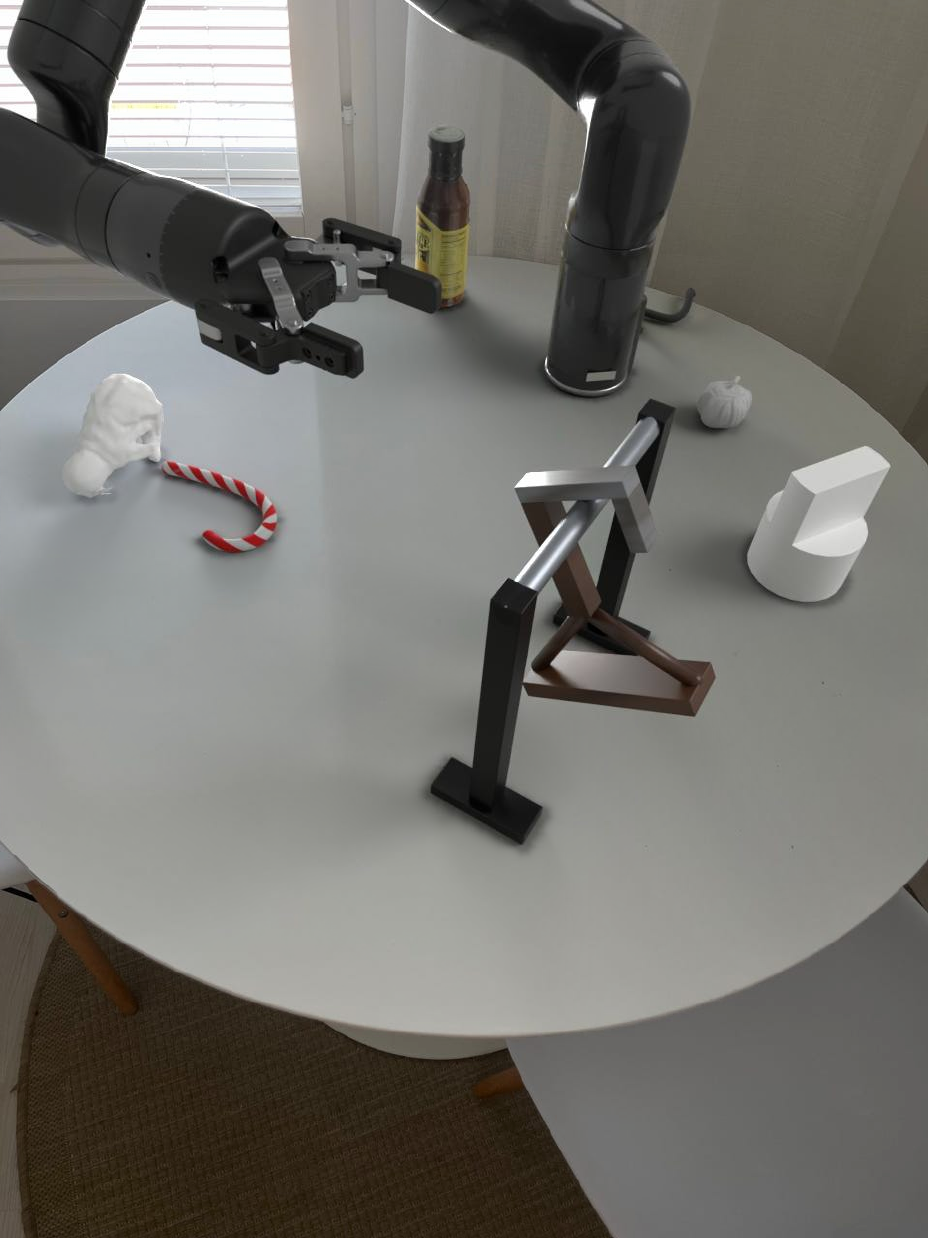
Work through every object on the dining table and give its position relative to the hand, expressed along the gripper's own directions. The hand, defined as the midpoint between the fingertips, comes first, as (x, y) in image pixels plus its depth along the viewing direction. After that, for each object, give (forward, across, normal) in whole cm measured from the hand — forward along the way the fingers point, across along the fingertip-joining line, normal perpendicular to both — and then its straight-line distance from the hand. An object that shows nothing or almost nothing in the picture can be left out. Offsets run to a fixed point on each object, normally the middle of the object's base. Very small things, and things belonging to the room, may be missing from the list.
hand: (401, 328), depth 55 cm
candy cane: (-24, +3, +30) cm, 39 cm away
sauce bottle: (-26, +48, +30) cm, 62 cm away
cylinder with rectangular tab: (+26, +28, +30) cm, 49 cm away
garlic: (+12, +44, +30) cm, 55 cm away
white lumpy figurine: (-35, +2, +30) cm, 46 cm away
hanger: (+19, 0, +23) cm, 30 cm away
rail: (+14, 0, +30) cm, 33 cm away
